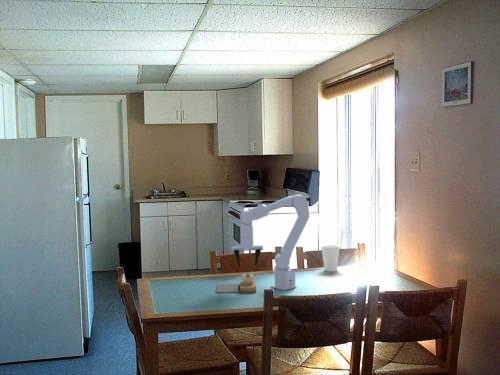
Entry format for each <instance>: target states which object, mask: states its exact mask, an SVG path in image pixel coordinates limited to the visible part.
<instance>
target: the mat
mask: <svg viewBox="0 0 500 375" xmlns="http://www.w3.org/2000/svg"><path fill="white" fill-rule="evenodd" d="M239 284H240V283H223V284H222V283H221V284H220V283H218V284H217V286H216V292H215V293H216V294H230V293H231V294H237V293H238V294H239V287H240V286H239Z"/></svg>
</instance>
